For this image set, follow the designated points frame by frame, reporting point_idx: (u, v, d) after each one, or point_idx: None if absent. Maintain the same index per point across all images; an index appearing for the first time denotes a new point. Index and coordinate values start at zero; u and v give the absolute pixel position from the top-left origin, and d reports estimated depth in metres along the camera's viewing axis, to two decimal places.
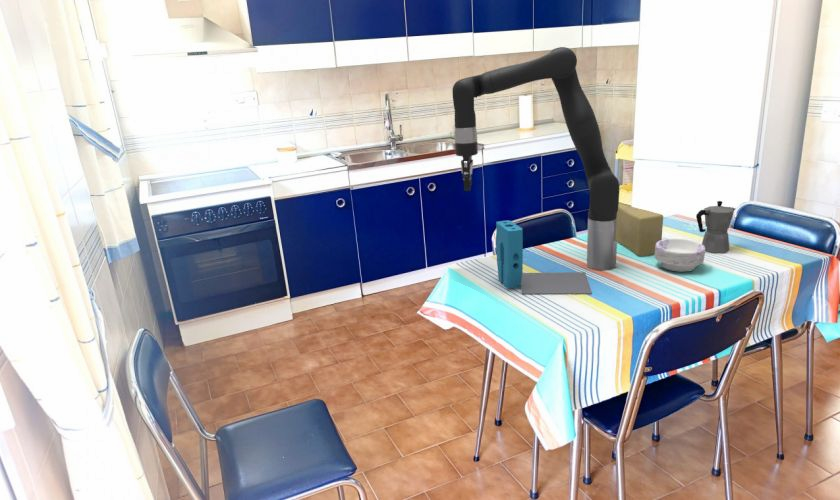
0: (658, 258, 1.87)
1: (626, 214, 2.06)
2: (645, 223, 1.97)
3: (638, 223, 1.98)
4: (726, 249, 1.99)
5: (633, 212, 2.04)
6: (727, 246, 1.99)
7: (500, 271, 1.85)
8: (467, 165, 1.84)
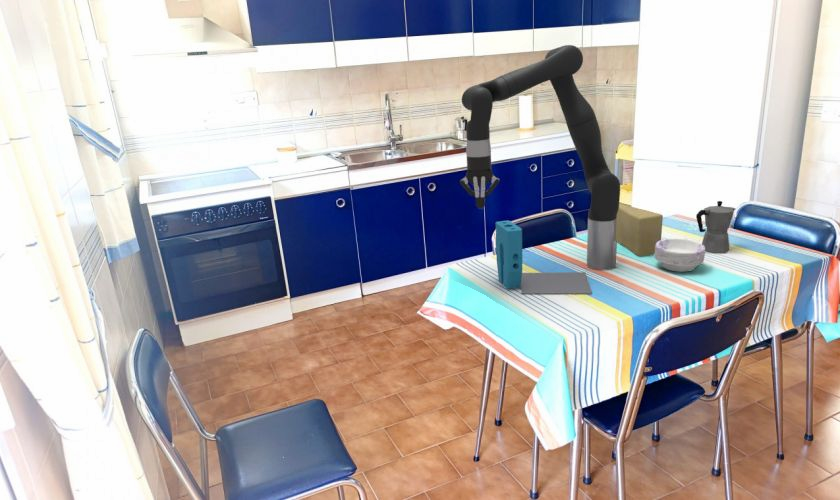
0: (658, 258, 1.87)
1: (626, 214, 2.06)
2: (645, 223, 1.97)
3: (637, 223, 1.98)
4: (726, 249, 1.99)
5: (633, 212, 2.04)
6: (727, 246, 1.99)
7: (500, 271, 1.85)
8: None
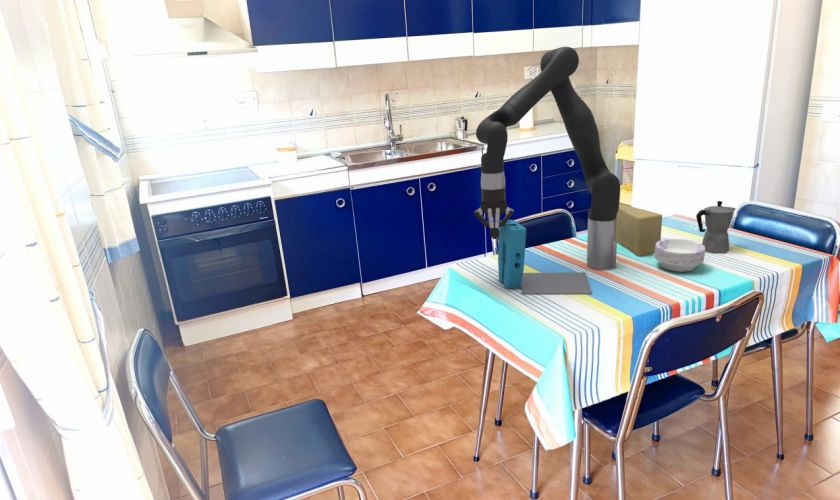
0: (658, 258, 1.87)
1: (626, 214, 2.06)
2: (644, 223, 1.97)
3: (637, 223, 1.98)
4: (726, 249, 1.99)
5: (632, 212, 2.04)
6: (727, 246, 1.99)
7: (501, 270, 1.85)
8: None
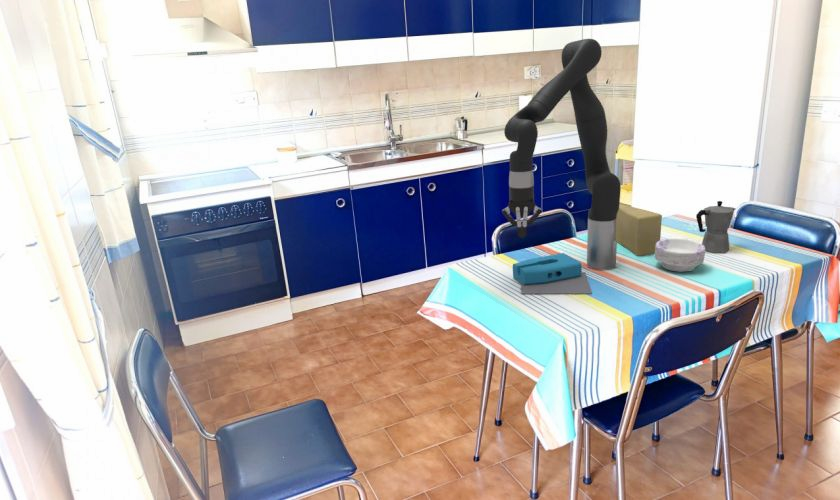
0: (658, 258, 1.87)
1: (625, 214, 2.06)
2: (644, 223, 1.97)
3: (636, 223, 1.98)
4: (726, 249, 1.99)
5: (632, 212, 2.04)
6: (727, 246, 1.99)
7: (526, 263, 1.87)
8: None
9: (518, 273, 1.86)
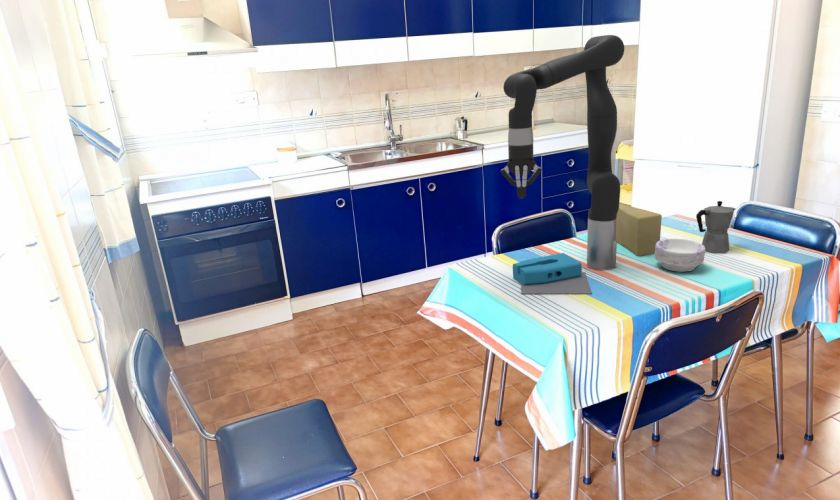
0: (658, 258, 1.87)
1: (625, 214, 2.06)
2: (643, 223, 1.97)
3: (636, 223, 1.98)
4: (726, 249, 1.99)
5: (632, 212, 2.05)
6: (727, 246, 1.99)
7: (526, 263, 1.87)
8: None
9: (518, 273, 1.86)
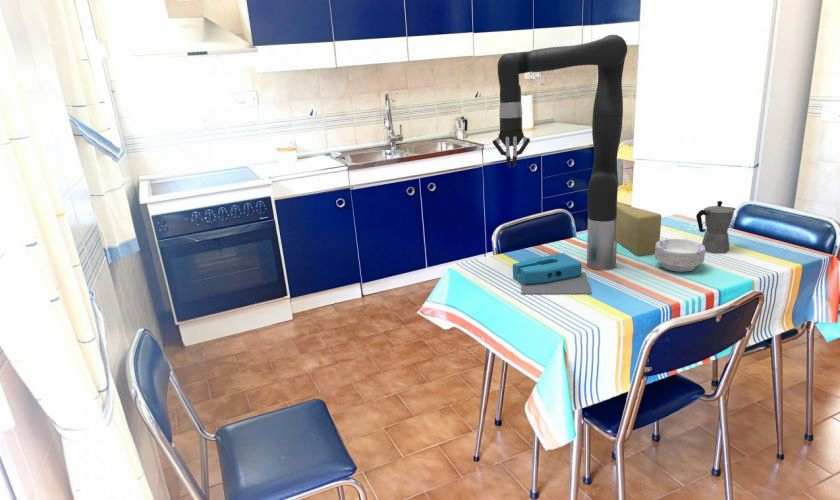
0: (658, 258, 1.87)
1: (625, 214, 2.06)
2: (643, 223, 1.97)
3: (636, 222, 1.98)
4: (726, 249, 1.99)
5: (631, 212, 2.05)
6: (727, 246, 1.99)
7: (526, 263, 1.87)
8: None
9: (518, 273, 1.86)
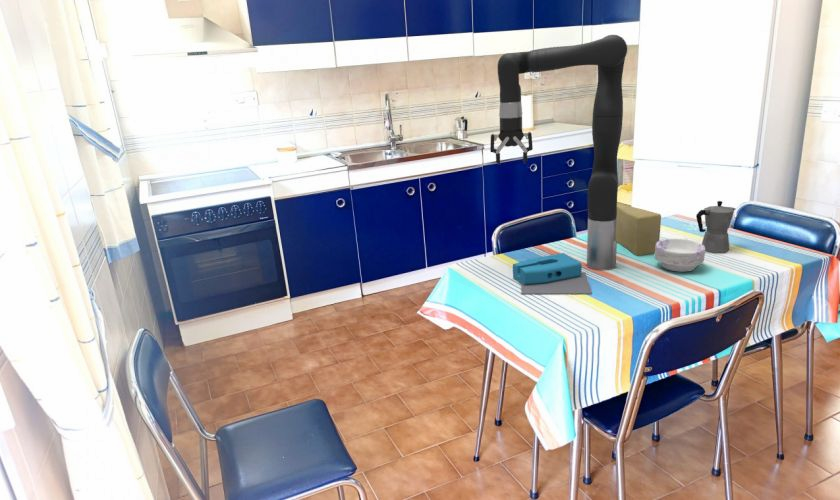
0: (658, 258, 1.87)
1: (625, 214, 2.06)
2: (643, 223, 1.98)
3: (636, 222, 1.99)
4: (726, 249, 1.99)
5: (631, 211, 2.05)
6: (727, 246, 1.99)
7: (526, 263, 1.87)
8: None
9: (518, 273, 1.86)
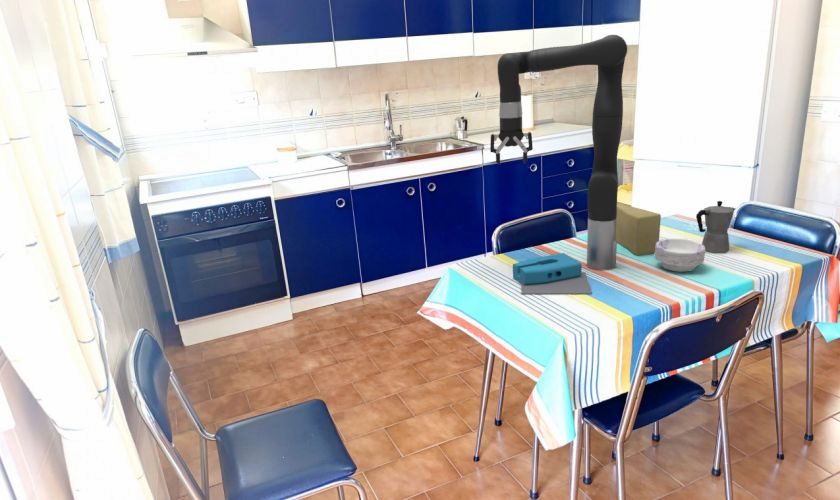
0: (658, 258, 1.87)
1: (624, 214, 2.07)
2: (642, 223, 1.98)
3: (635, 222, 1.99)
4: (726, 249, 1.99)
5: (631, 211, 2.05)
6: (727, 246, 1.99)
7: (526, 263, 1.87)
8: None
9: (518, 273, 1.86)
